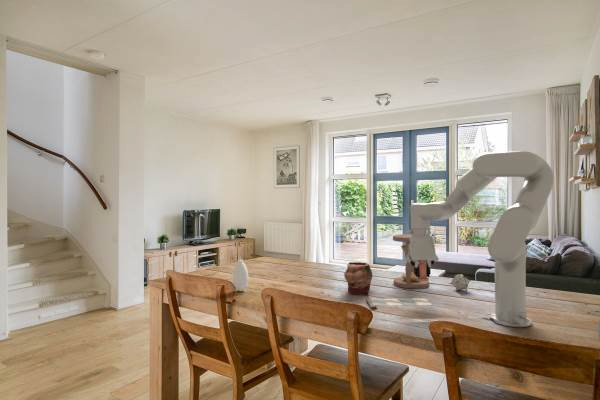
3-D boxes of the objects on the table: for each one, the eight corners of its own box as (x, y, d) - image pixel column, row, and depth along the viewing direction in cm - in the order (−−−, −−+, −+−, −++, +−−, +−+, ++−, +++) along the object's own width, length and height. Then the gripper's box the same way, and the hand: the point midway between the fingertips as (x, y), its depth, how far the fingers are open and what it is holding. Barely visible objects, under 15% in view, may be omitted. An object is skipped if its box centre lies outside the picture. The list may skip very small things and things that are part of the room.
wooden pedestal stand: (402, 279, 195) (401, 233, 195) (434, 283, 184) (433, 235, 184) (387, 285, 182) (386, 236, 182) (421, 290, 171) (420, 238, 171)
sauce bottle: (244, 293, 171) (243, 256, 171) (229, 292, 174) (229, 255, 174) (251, 289, 178) (250, 253, 178) (237, 288, 181) (236, 253, 181)
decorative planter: (356, 285, 183) (355, 258, 183) (379, 288, 176) (378, 260, 176) (339, 295, 166) (338, 265, 166) (363, 298, 159) (363, 267, 159)
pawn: (430, 281, 146) (429, 257, 146) (418, 281, 147) (417, 257, 147) (426, 278, 151) (425, 255, 151) (415, 278, 151) (414, 255, 151)
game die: (464, 299, 169) (474, 285, 163) (446, 292, 171) (455, 277, 165) (464, 285, 176) (473, 272, 170) (447, 279, 178) (455, 265, 172)
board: (436, 308, 143) (436, 305, 143) (371, 309, 144) (371, 306, 144) (426, 300, 155) (426, 297, 155) (366, 300, 156) (366, 297, 156)
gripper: (403, 234, 146) (404, 279, 145) (444, 232, 145) (446, 277, 145) (398, 232, 153) (400, 275, 153) (437, 231, 153) (439, 274, 152)
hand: (422, 276), depth 149 cm, fingers closed on pawn, 3 cm apart
